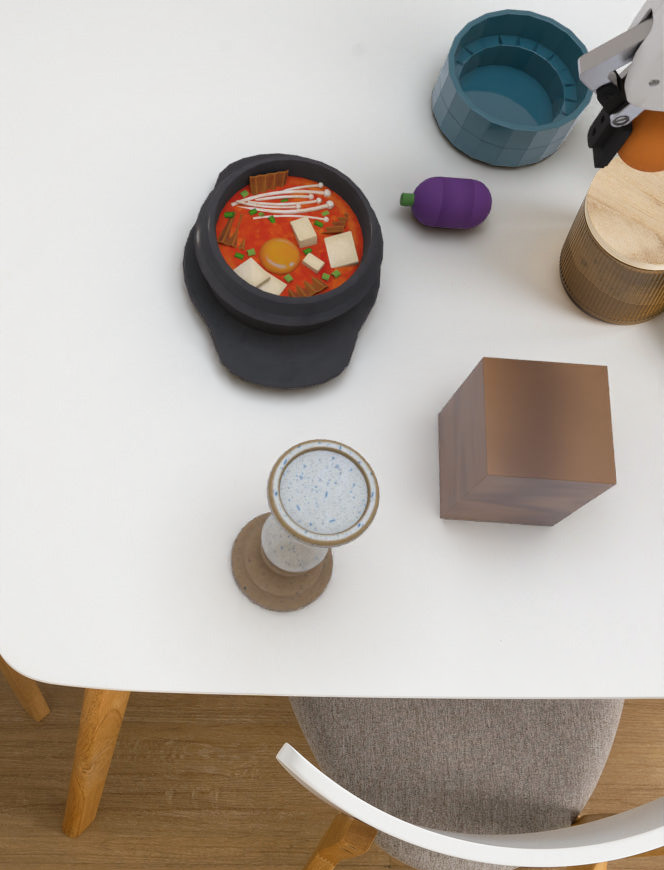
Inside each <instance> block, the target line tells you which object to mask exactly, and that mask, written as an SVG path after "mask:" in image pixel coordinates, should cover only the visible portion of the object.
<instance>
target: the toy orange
mask: <svg viewBox="0 0 664 870" xmlns="http://www.w3.org/2000/svg"><path fill="white" fill-rule="evenodd" d="M632 126H633V130H632V133H631V135H630V136H629V137H628V139H627V140H626V142H625V143H624V144H623V146H622V147H621V148H620V150H619V151H618V152H617V155H618V157H619V159H620V160H621V161H622V162H623V163H624V164H625V165H626V166H628V167H629V168H631V169H633V170H636V171H639V172H643V173H660V172H664V112H663V111H652V110H646V109H645V110H644V111H643V112H642V113H641V114H639V115H638V116H637V117H636V118H635V119H633V120H632Z"/></svg>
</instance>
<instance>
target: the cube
mask: <svg viewBox="0 0 664 870" xmlns="http://www.w3.org/2000/svg"><path fill="white" fill-rule="evenodd" d="M608 369H609V368H608V365H602V364H601V365H600V364H587V363H572V362H560V361H559V362H558V361H544V360H531V359H529V360H528V359H519V358H518V359H517V358H505V357H491V356H483V357H482V358H481V359H480V360H479V361H478V363H477V364H476V366H475V367H474V368H473V369H472V371H471V372H470V373H469V374H468V376H467V377H466V378H465V379H464V381H463V382H462V383H461V385H460V386H459V387H458V388H457V389H456V391H455V392H454V393H453V394H452V396H451V397H450V398H449V400H448V401H447V402H446V404H445V405H444V406H443V407H442V409H441V410H440V412H438V414H437V417H438V418H437V423H438V463H439V464H438V467H439V468H438V470H439V471H438V472H439V515H440V517H439V518H440V519H442V520H443V519H445V520H457V521H471V522H484V523H499V524H512V525H513V524H515V525H525V526H526V525H527V526H539V527H540V526H541V527H542V526H543V527H554V526H555V525H557V524H558V523H560V522H562V521H563V520H564V519H566V518H567V517H569V516H571V515H572V514H573V513H575V512H576V511H578V510H580V509H581V508H583V507H584V506H585V505H587V504H589V503H590V502H591V501H593V500H595V499H596V498H598V497H599V496H601V495H602V494H605V492H607V491H608V490H610V489H612V488H613V487H614V486H616V485H617V484H618V483H617V472H616V471H617V470H616V458H615V447H614V446H615V444H614V434H613V421H612V409H611V395H610V394H611V393H610V381H609V371H608Z"/></svg>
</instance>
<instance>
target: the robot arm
mask: <svg viewBox="0 0 664 870" xmlns="http://www.w3.org/2000/svg"><path fill="white" fill-rule="evenodd" d="M628 64H629V65H628ZM626 65H627V66H626ZM624 66H626V67H625V68H624V69H623V70H622V71H621V72H620V73H618V71H617V70H618V69H620V68H622V67H624ZM578 72H579V79H580V80H581V81H582V82H583V83H584V84H585V85H586V86H587V87H588V88H589V89H590V90H591V91H593V94H595V95H596V99H597V101H598V103H599V104H600V106H601V107H602V108H601V109H600V111H599V113H598V114H597V115H596V117H595V119H594V120H593V121H592V123H591V125H590V126H589V128H588V131H587V134H586V135H587V137H586V141H587V147H588V148H589V149H592V157H593V158H592V159H593V166H594V168H595V169H605V168H606V167H608V166H609V165H610V163H611V162H612V161H613V159H614V158H615V156H616V155H618V153H617V152H618V151H619V150H620V148H621V147H622V146H623V144H624V143H625V142H626V140H627V139H628V137H629V136H630V135H631V133H632V130H633V126H632V120H633V119H635V118H636V117H637V116H638V115H639V114H641V113H642V112H643V111H644V110H645V109H646V110H652V111H663V112H664V0H645V2H644V3H643V5H642V7H640V9H639V11H638V12H637V14H636V15H635V17H634V19H633V20H632V22H631V23H630V25H629V27H628V28H627V30H626V31H624V32H622V33H620V34H619V35H616V36H615V37H613V38H611V39H609V40H607V41H606V42H603V43H602V44H600V45H599V46H596V47H595V48H593V49H591V50H589V51H588V53H586V54H584V55H582V56H581V57H580V58H579V59H578Z"/></svg>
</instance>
